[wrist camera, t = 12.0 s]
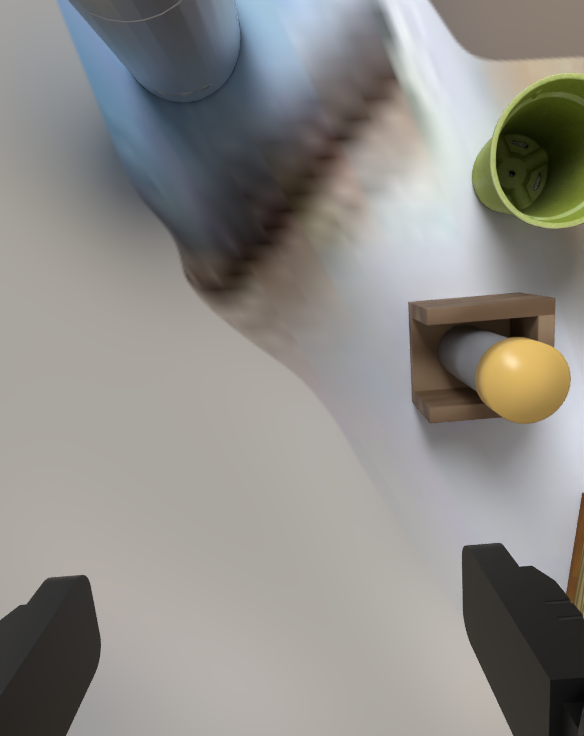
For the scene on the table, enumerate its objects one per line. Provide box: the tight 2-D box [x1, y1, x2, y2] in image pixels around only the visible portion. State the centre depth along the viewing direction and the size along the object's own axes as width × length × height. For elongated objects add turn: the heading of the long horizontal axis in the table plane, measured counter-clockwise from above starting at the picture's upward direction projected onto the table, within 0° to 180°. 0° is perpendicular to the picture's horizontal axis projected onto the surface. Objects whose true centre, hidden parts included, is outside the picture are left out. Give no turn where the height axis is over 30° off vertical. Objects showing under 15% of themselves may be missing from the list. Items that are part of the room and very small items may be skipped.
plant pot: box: [472, 73, 584, 229], centre depth 37 cm, size 9×9×9 cm
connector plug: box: [437, 325, 571, 424], centre depth 38 cm, size 5×5×12 cm
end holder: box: [408, 293, 555, 423], centre depth 42 cm, size 9×9×6 cm
